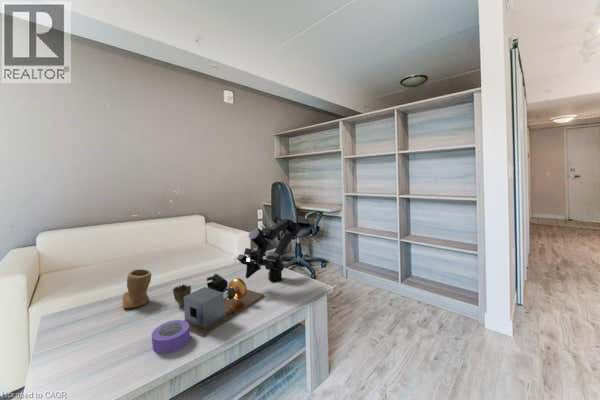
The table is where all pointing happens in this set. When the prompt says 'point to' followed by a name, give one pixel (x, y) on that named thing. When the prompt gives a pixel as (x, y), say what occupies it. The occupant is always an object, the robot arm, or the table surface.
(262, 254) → the robot arm
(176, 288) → the cup
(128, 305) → the brown boot
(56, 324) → the table surface
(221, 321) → the housing
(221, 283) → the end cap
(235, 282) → the gold rounded piece
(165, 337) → the tape roll
